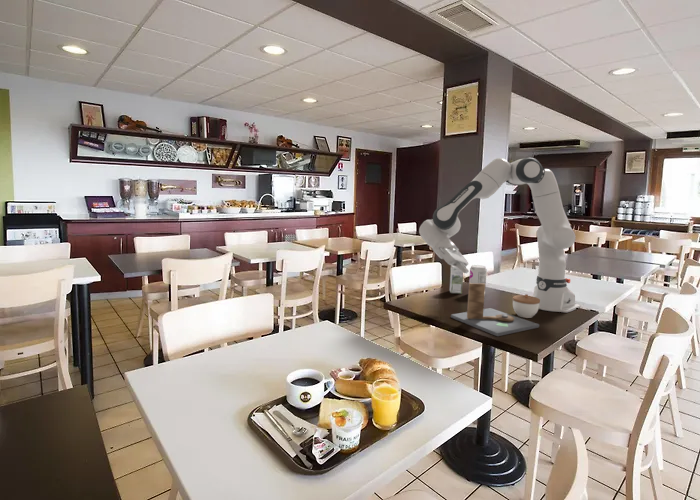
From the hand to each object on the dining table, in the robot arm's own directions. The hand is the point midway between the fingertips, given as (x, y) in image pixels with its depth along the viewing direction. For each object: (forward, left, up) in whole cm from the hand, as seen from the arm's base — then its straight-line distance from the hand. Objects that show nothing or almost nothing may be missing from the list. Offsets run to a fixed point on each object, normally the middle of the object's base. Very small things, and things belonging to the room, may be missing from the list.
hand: (466, 272), depth 174 cm
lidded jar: (-22, +13, -19) cm, 32 cm away
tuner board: (-3, +14, -18) cm, 23 cm away
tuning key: (-1, +13, -17) cm, 21 cm away
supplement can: (-29, -22, -19) cm, 41 cm away
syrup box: (-23, -31, -19) cm, 43 cm away
